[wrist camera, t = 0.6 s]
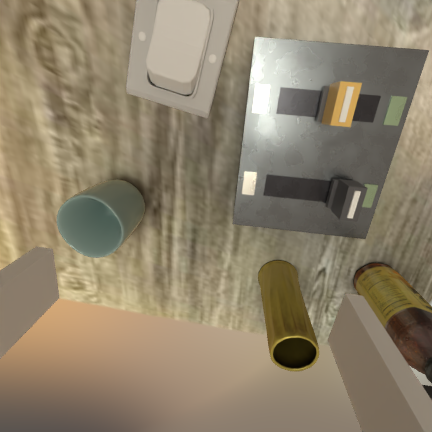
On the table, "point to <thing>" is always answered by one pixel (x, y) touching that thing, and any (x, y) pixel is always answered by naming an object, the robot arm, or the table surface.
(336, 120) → the lever
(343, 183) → the lever
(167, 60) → the light switch
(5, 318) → the robot arm
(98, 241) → the cup
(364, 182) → the breaker panel
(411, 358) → the sauce bottle
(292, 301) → the vase
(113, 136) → the table surface
